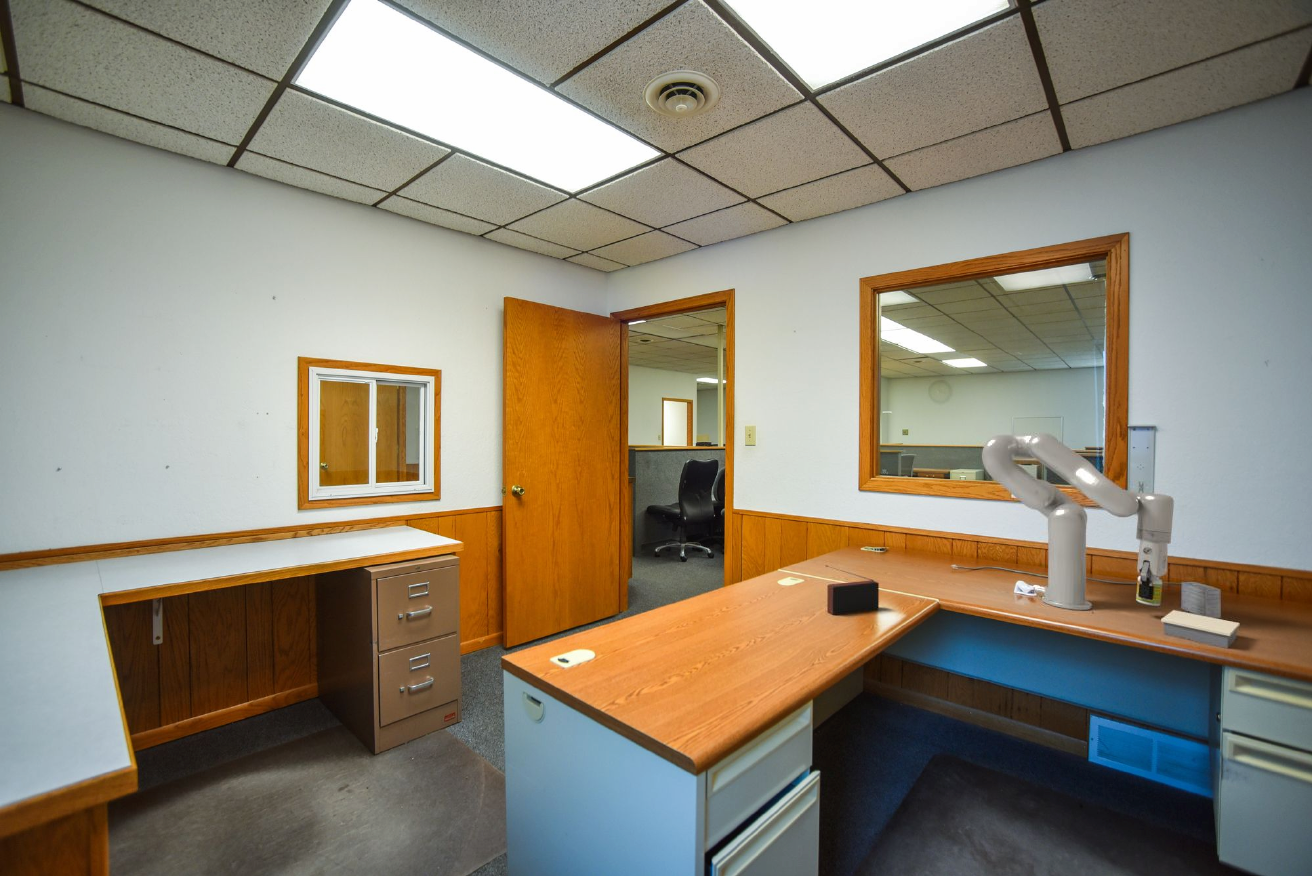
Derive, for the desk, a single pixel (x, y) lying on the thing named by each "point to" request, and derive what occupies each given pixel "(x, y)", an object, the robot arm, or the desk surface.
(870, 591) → the radio
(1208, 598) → the medicine box
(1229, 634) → the base block
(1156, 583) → the supplement bottle
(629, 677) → the desk surface
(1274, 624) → the desk surface
